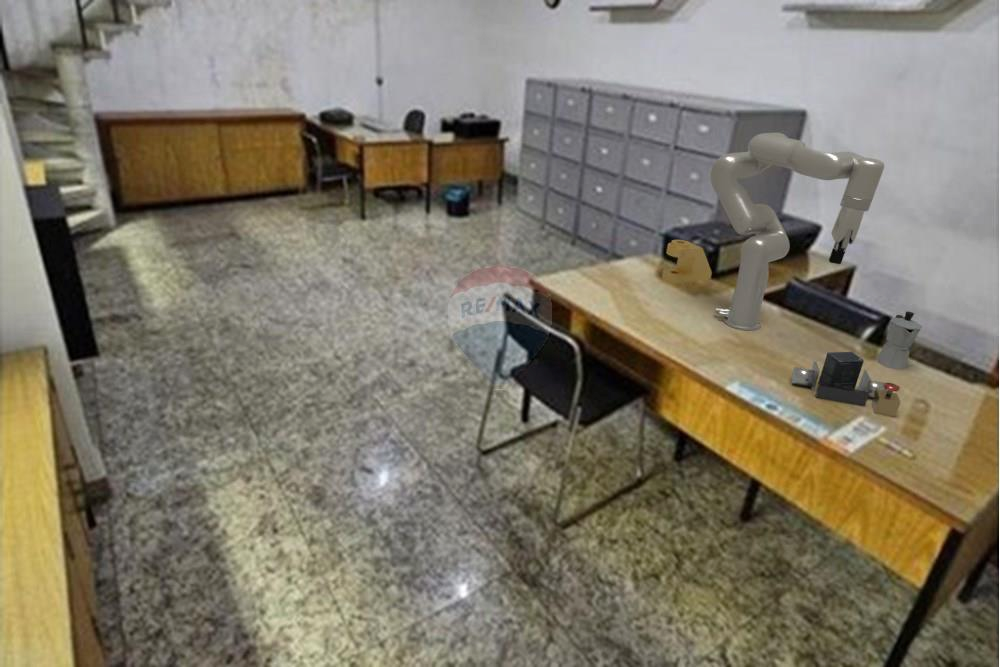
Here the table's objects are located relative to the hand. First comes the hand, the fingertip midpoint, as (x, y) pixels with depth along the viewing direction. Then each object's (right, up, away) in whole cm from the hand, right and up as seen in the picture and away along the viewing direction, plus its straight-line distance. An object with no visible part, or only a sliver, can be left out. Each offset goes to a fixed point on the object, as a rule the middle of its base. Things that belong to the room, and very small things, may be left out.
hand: (834, 262), depth 190 cm
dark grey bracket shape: (-5, -38, -10) cm, 40 cm away
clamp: (-25, +1, +69) cm, 74 cm away
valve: (+4, -43, -18) cm, 46 cm away
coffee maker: (+22, -31, +9) cm, 39 cm away
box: (-4, -37, -8) cm, 38 cm away
